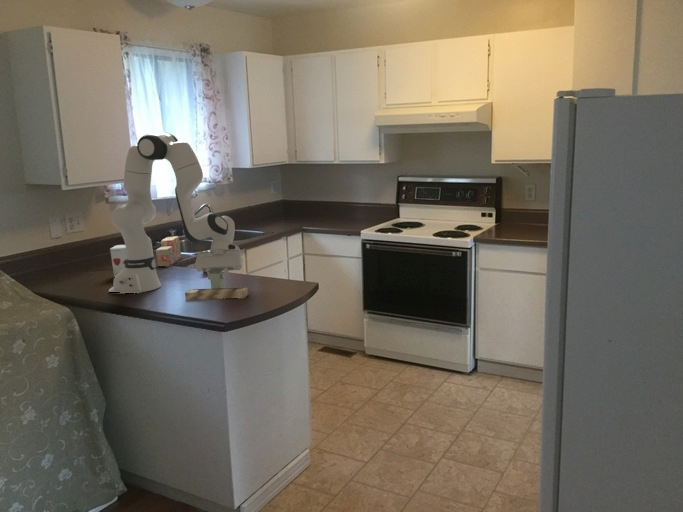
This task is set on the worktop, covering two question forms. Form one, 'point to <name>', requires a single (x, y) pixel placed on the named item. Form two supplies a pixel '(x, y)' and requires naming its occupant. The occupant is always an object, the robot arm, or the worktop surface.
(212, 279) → the post
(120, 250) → the supplement box
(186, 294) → the maple plank
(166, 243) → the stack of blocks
